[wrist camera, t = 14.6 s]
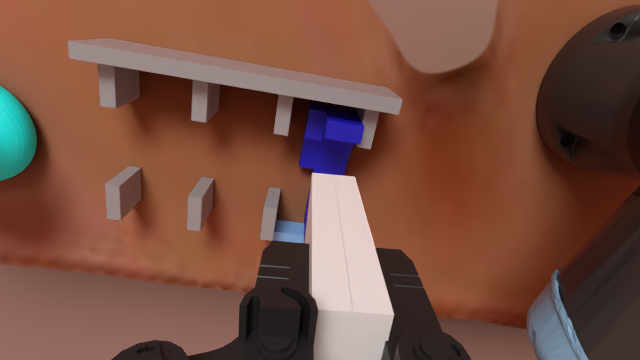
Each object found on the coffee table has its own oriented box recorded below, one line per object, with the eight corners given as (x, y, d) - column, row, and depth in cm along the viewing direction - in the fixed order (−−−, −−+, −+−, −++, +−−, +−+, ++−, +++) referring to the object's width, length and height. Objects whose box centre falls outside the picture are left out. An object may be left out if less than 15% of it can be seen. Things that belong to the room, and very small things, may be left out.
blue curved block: (309, 102, 34) (309, 117, 29) (355, 110, 35) (364, 126, 29) (290, 213, 39) (287, 244, 33) (331, 219, 39) (335, 251, 34)
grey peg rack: (387, 87, 34) (402, 99, 28) (350, 237, 40) (357, 271, 34) (110, 38, 31) (67, 40, 26) (118, 205, 38) (85, 236, 32)
